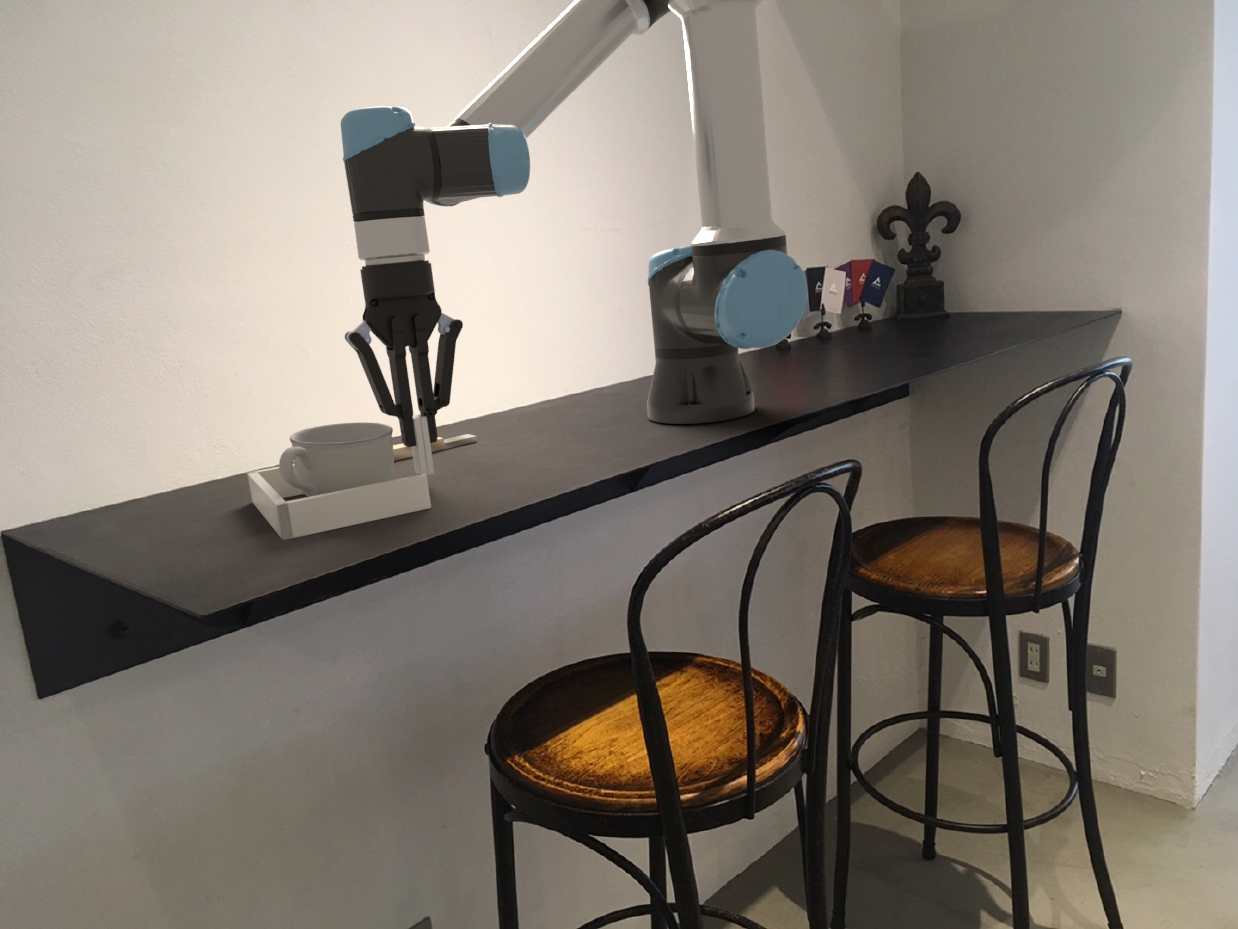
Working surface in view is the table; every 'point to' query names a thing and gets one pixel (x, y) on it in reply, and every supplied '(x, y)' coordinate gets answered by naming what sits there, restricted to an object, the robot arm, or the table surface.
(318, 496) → the tray
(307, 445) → the teacup
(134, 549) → the table surface
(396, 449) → the birch bar
